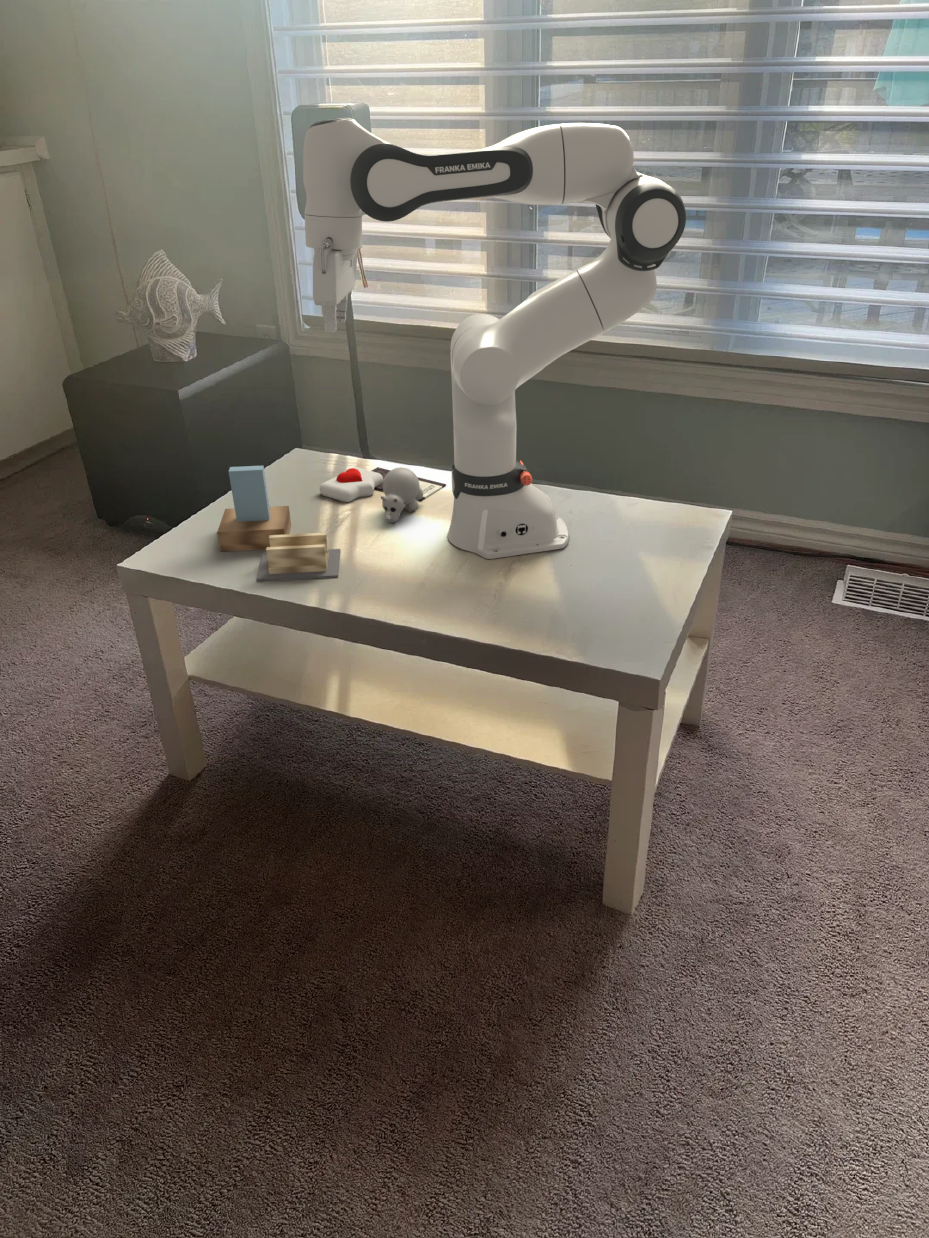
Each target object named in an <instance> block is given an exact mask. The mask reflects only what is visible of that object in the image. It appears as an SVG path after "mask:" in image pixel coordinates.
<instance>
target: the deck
mask: <svg viewBox="0 0 929 1238" xmlns="http://www.w3.org/2000/svg"><path fill="white" fill-rule="evenodd" d="M269 507H270V514H271V516H270V520H262V521H241V522H237V519H236V513H235V507H233V508H232V507H231V508H225V509H224V512H223V514H222V516H221V517H222V518H221V520H220V523H219V525H218V528H217V532H216V533H217V538H218V544H219V551H220V552H241V551H259V550H262V551H263V550H264V551H266V548H267V547H270V542H269V536H270V535H286V534H291V533H290V532H291V527H292V521H291V520H292V519H291V513H290V507H289V505H279V506H278V505H277V506H269Z"/></svg>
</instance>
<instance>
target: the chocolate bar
mask: <svg viewBox="0 0 929 1238" xmlns="http://www.w3.org/2000/svg"><path fill="white" fill-rule="evenodd" d="M391 470H392V469H391ZM391 470H389V469H386V468H383V467H380V466H379V467H375V468H374V469H372V470H371V471H372V472H376V473H379V474H381V475H382V477H383V481H384V478H385V476H386V475H387V473H388V472H390V471H391ZM417 478H418V480H419V485H420V488H421V489H422V491H423V497H422V498H421V499H419V500H417V502H423V501H424V500H426V499H428V498H429V497H431V496H432V495H434V494H436V493H437V492H439V491H440V490H442V489H444V488H445V487H446V486H447V484H446V483H442V482H438V481H436V480H435V481H434V480H431V479H426V478H423V477H418V476H417ZM375 490H376V491H379V492H383V493H384V491H383V483H382V484H380V485H378V486H376V487H375V488H374V491H375Z"/></svg>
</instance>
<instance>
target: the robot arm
mask: <svg viewBox="0 0 929 1238" xmlns="http://www.w3.org/2000/svg"><path fill="white" fill-rule="evenodd" d="M303 141H304V142H303V152H302V153H303V154H302V157H303V158H302V159H303V160H302V170H303V171H302V172H303V173H302V180H303V186H304V189H305V193H306V203H305V207H304V234H305V235H304V237H305V238H304V239H305V247H306V248H307V247H308V248H311V249H313V258H312V259H313V260H312V298H313V299H312V300H313V303H314V305H315V306H321V314H322V317H323V318H322V319H323V321H324V322H323V323H324V324H323V325H324V332H325V333H326V334H327V333H328V334H334V333H335V332H337V330H338V323H340V324H343V323H345V322H346V320H347V308H348V301H349V299H348V297H349V294H350V293H351V292H352V291H353V290H354V288H355V285H356V280H357V279H356V278H357V264H358V250H360V249H362V248H363V213H364V214H365V215H367V216H368V217H370V218H372V219H373V220H376V221H379V222H394V221H398V220H401V219H403V218H405V217H407V216H408V215H410V214H411V213H413V212H414V211H416V210H417V209H419V208H421V207H423V206H426V205H429V204H434V203H441V202H451V201H462V200H468V199H469V200H471V199H479V198H482V199H483V198H489V199H499V200H503V201H508V202H512V203H515V204H523V205H533V206H557V205H566V204H567V205H568V204H575V203H590V204H594V206H595V207H596V210H597V213H598V219H599V222H600V224H601V227H602V229H603V231H604V232H605V234H606V236H608V237H609V239H610V240H609V242H608V244H607V246H606V248H605V249H604V250H603V252H602V253H601V254H599V256H598V257H596V258H595V259H594V260H593V261H591V262H589V263H587V264H584V265H582V266H580V267H578V268H576V269H574V270H573V271H570V272H569V273H566V275H563V276H562V277H560V278H557V279H556V280H554V281H552V282H550V283H549V284H546V285H544V286H543V287H541V288H539V289H537V290H536V291H533V292H532V293H531V294H530V295H529V296H527V297H526V299H525V300H524V301H523V302H521V303H520V304H519V305H517V306H516V307H515V308H513V309H512V310H511V311H509V312H508V313H507V314H505V315H504V316H502V317H501V318H498V317H496V316H493V315H491V314H487V313H474V314H471V315H469V316H468V317H466V318H464V319H463V320H462V321H461V322H460V323H459V324H458V325H457V327H456V328H455V330H454V331H453V334H452V337H451V341H450V348H449V349H450V369H451V370H450V373H451V396H452V397H451V398H452V400H451V401H452V419H453V420H452V421H453V423H452V425H453V455H454V458H453V461H454V463H452V468H451V492H452V495H453V505H452V506H453V507H452V515H451V520H450V525H449V529H448V531H447V532H448V533H447V540H448V541H449V542H450V544H451V545H453V546H455V547H456V548H459V549H460V550H463V551H467V552H472V553H475V554H477V555H478V556H480V557H482V558H484V559H488V560H492V559H493V560H494V559H498V558H499V559H500V558H505V557H513V556H518V555H525V554H526V555H527V554H534V553H540V552H547V551H553V550H561V549H563V548H565V547H566V546H567V544H568V543H569V529H568V527H567V524H566V523H565V521H564V520H563V519H562V517H560V516H559V515H557V513H556V512H557V511H556V508H555V506H554V503H553V502H552V500H551V498H550V496H548V495H547V494H546V493H545V492H544V491H542V490H540V489H539V488H538V487H536V486H534V485H533V484H532V483H533V477H532V474H531V473H530V472H529V471H528V469H527V466H525V465H524V463H523V461H522V460H519V461H518V460H517V413H516V412H517V411H516V390H517V389H518V388H519V387H520V386H522V385H524V383H526V382H528V381H529V380H530V379H531V378H533V377H535V376H536V375H537V374H539V372H541V371H542V370H543V369H545V368H546V367H548V365H550V364H551V363H553V362H555V361H556V360H557V359H559V358H560V357H562V356H564V355H565V354H567V353H569V352H570V351H572V350H574V349H576V348H578V347H579V346H582V345H585V344H586V343H588V342H589V341H591V340H593V339H595V338H597V337H599V336H601V335H603V334H604V333H607V332H608V331H610V330H612V329H614V328H615V327H618V326H619V325H620V324H622V323H623V322H625V321H627V320H628V319H630V318H631V317H633V316H634V315H635V314H637V313H638V312H639V311H641V310H642V309H643V308H645V307H646V306H647V305H648V304H649V303H651V302H652V300H653V299H654V297H655V295H656V292H657V286H658V285H657V275H656V274H657V273H656V271H655V270H657V269H659V267H660V266H661V265H662V263H663V262H665V259H666V258H667V257H668V255H669V253H670V252H672V250H673V249H674V248H675V246H676V245H677V243H678V242H679V241H680V239H681V238H682V236H683V233H684V232H685V227H686V223H687V211H686V207H685V204H684V202H683V201H684V200H683V199H682V197H681V195H680V194H679V192H678V191H677V189H675V188H674V187H672V186H670V184H667V183H666V182H664V181H662V180H661V179H658V178H657V177H653V176H649V175H646V174H643V173H642V172H639V171H637V170H636V167H635V164H634V160H635V159H634V158H635V155H634V149H633V144H632V142H631V139H630V137H629V135H628V134H627V132H626V131H625V130H624V129H623V128H621V127H620V126H618V125H612V124H611V125H610V124H607V123H606V124H605V123H596V122H595V123H593V122H587V123H586V122H568V123H554V124H546V125H541V126H537V127H531V128H528V129H525V130H522V131H519V132H516V133H514V134H511V135H510V136H508V137H505V138H504V139H503V140H501V141H499V142H497V143H494V144H493V145H490V146H488V147H484V148H480V149H473V150H466V151H465V150H464V151H453V152H444V153H431V154H429V153H427V154H426V153H416V152H413V151H410V150H408V149H405V148H403V147H402V146H398V145H395V144H393V143H390V142H388V141H387V140H384V139H383V138H380V137H379V136H376V135H375V134H373V133H372V132H370V131H368V129H366V128H365V127H363V126H361V124H360V123H358V122H357V121H356V119H355V118H352V117H341V118H340V117H337V118H330V119H324V120H320V121H317V122H315V123H313V124H312V125H310V127H309V128H308V129H307V131H306V133H305V136H304V140H303Z"/></svg>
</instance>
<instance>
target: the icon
mask: <svg viewBox="0 0 929 1238" xmlns="http://www.w3.org/2000/svg"><path fill="white" fill-rule="evenodd" d="M382 483H383V477H382V475H381V474H379V473H376V472H372V470H368V469H365V468H361V467H356V466H355V467H351V468H348V469H347V470H345V471H343V472H340V473H338V475H336V476H335V477H332V478H330V479H328V480H326V481H325V482H323V483H321V484H320V486H319V493H320V494H321V495H322V496H323V497H327V498H329V499H333V500H337V501H340V502H343V503H350V502H352V501H354V500H356V499H357V498H363V497H369V496H373V494H374V493H375V492H374V491H375V489H374V488H375V487H376V486H378V485H380V484H382Z"/></svg>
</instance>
